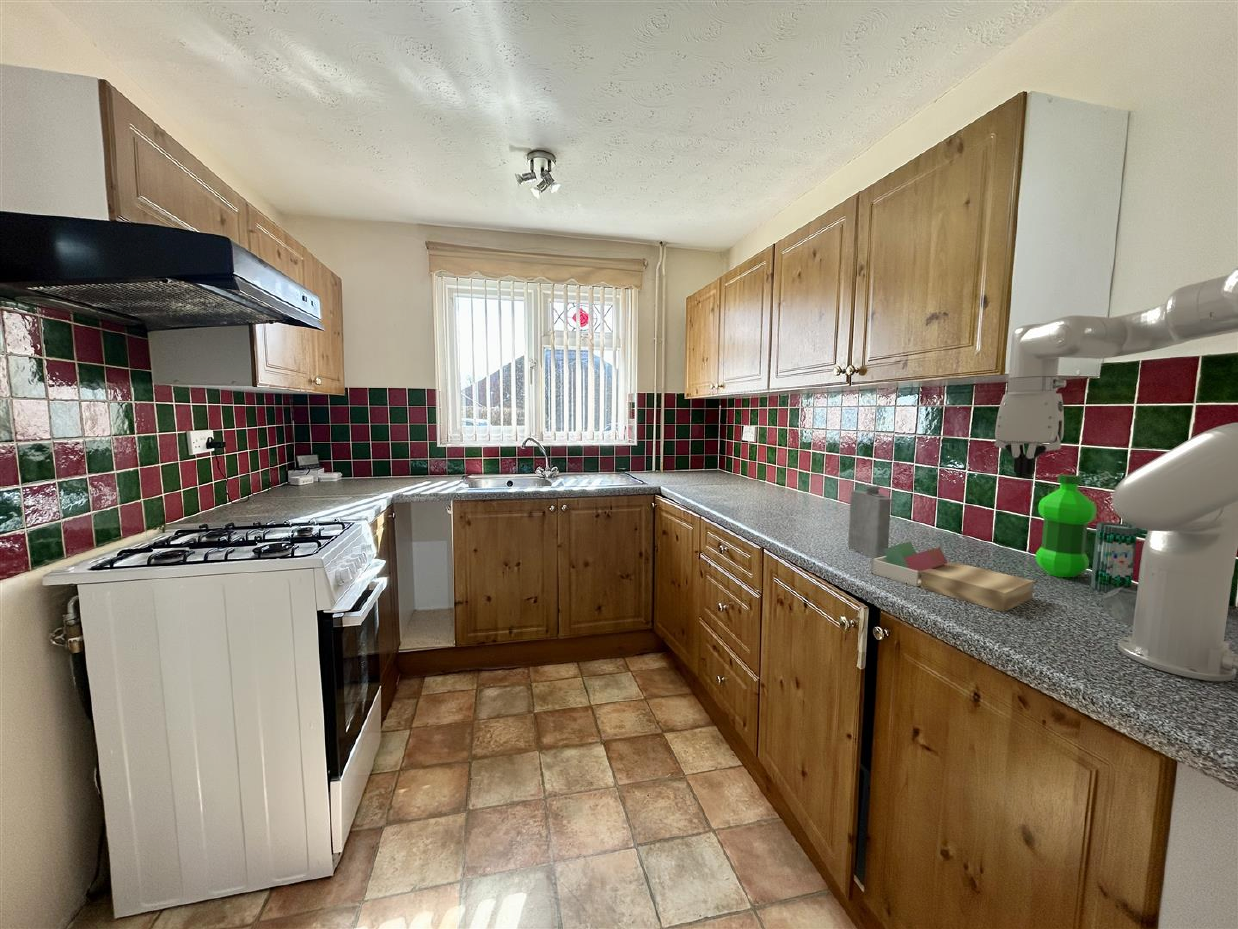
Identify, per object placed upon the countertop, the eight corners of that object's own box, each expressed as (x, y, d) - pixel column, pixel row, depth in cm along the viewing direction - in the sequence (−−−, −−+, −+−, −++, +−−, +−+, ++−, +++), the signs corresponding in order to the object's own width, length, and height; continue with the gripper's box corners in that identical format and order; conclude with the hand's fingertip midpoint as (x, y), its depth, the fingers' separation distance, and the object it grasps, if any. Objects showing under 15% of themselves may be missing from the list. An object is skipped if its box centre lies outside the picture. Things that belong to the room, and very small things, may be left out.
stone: (1196, 638, 89) (1160, 603, 98) (1200, 620, 88) (1164, 587, 97) (1120, 634, 93) (1092, 601, 102) (1124, 617, 92) (1095, 585, 100)
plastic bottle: (1091, 584, 114) (1102, 479, 111) (1032, 575, 121) (1041, 475, 118) (1087, 574, 121) (1097, 475, 119) (1032, 565, 128) (1041, 472, 126)
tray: (946, 576, 119) (947, 562, 119) (916, 586, 112) (917, 571, 112) (901, 564, 129) (902, 551, 128) (870, 573, 122) (871, 559, 121)
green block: (910, 541, 123) (896, 546, 126) (897, 544, 119) (883, 549, 123) (921, 564, 120) (907, 568, 124) (908, 568, 117) (894, 572, 120)
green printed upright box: (1098, 592, 109) (1105, 527, 107) (1086, 583, 114) (1092, 521, 113) (1135, 596, 106) (1142, 529, 105) (1120, 587, 112) (1127, 524, 110)
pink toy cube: (947, 563, 115) (939, 547, 117) (934, 567, 112) (926, 550, 114) (924, 569, 120) (916, 554, 121) (911, 573, 117) (903, 557, 118)
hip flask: (845, 547, 146) (849, 481, 144) (858, 547, 146) (862, 481, 144) (878, 563, 130) (882, 490, 128) (892, 563, 130) (897, 489, 128)
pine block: (1032, 598, 105) (1033, 580, 105) (1003, 612, 98) (1005, 593, 97) (951, 577, 119) (952, 561, 118) (920, 587, 111) (921, 571, 111)
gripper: (1087, 386, 93) (1078, 480, 95) (996, 389, 106) (989, 472, 108) (1073, 384, 89) (1063, 482, 91) (980, 388, 102) (973, 474, 104)
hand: (1023, 476), depth 99 cm, fingers closed
